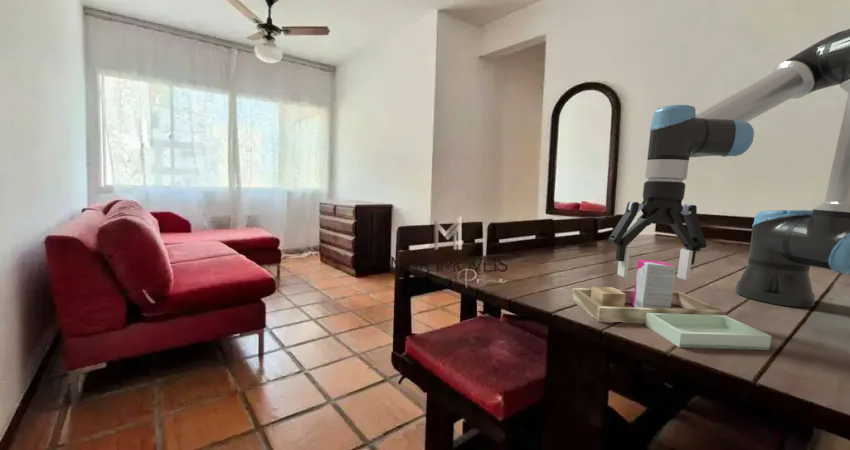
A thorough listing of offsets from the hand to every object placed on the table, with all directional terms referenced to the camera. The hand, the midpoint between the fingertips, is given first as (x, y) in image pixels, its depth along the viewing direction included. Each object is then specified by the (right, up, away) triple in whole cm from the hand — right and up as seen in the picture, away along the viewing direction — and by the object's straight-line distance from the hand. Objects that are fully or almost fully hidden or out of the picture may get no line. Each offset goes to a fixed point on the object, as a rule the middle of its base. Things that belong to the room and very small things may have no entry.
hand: (652, 277), depth 82 cm
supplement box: (0, -8, +1) cm, 8 cm away
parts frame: (-2, -8, +1) cm, 8 cm away
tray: (+2, -10, -12) cm, 15 cm away
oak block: (-10, -8, 0) cm, 13 cm away
